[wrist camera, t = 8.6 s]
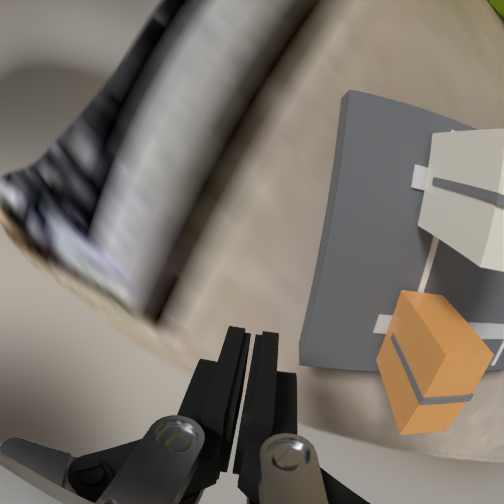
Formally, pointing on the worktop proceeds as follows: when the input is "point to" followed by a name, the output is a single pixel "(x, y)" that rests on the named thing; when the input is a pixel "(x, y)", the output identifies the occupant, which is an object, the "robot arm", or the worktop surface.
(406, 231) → the mixer panel
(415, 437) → the worktop surface
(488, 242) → the fader ivory
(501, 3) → the soap dispenser
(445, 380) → the fader orange
